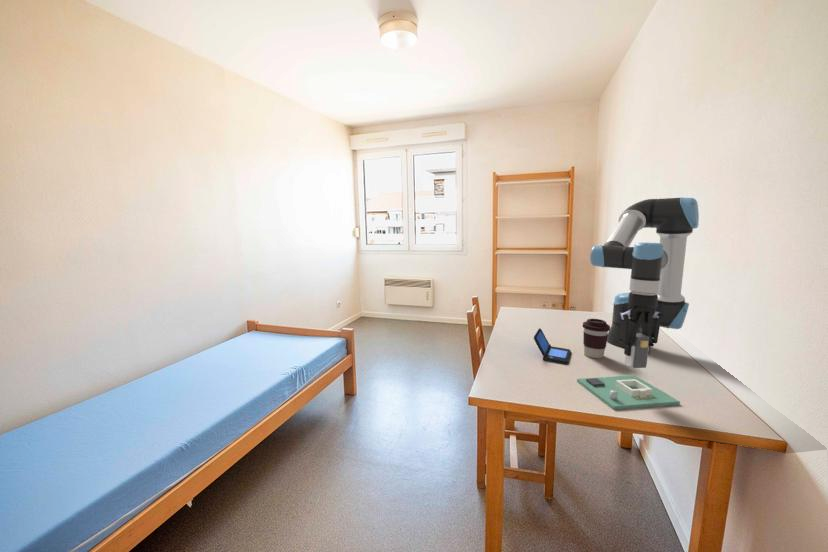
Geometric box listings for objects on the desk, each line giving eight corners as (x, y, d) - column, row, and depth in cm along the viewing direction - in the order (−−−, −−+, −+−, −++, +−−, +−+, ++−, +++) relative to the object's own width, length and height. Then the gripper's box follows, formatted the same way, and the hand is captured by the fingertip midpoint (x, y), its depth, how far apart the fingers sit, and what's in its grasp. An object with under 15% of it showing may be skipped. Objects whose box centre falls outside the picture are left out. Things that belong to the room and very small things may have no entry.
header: (634, 384, 113) (635, 379, 113) (653, 396, 106) (653, 390, 106) (615, 386, 112) (615, 380, 112) (632, 397, 105) (633, 391, 105)
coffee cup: (606, 353, 143) (609, 319, 141) (608, 361, 134) (611, 325, 132) (580, 349, 147) (582, 316, 145) (580, 357, 139) (583, 322, 136)
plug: (636, 362, 110) (639, 333, 109) (648, 368, 105) (651, 337, 104) (625, 363, 110) (628, 333, 108) (636, 369, 105) (639, 338, 103)
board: (634, 377, 121) (635, 368, 120) (679, 404, 103) (680, 394, 102) (576, 381, 118) (577, 372, 117) (613, 409, 100) (614, 398, 100)
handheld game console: (567, 365, 132) (569, 342, 130) (531, 359, 138) (533, 337, 137) (570, 352, 145) (572, 331, 144) (538, 346, 152) (539, 326, 150)
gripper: (658, 290, 109) (650, 358, 113) (609, 290, 107) (603, 361, 110) (678, 294, 102) (669, 368, 105) (627, 295, 100) (619, 370, 103)
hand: (635, 364), depth 108 cm, fingers closed on plug, 4 cm apart
